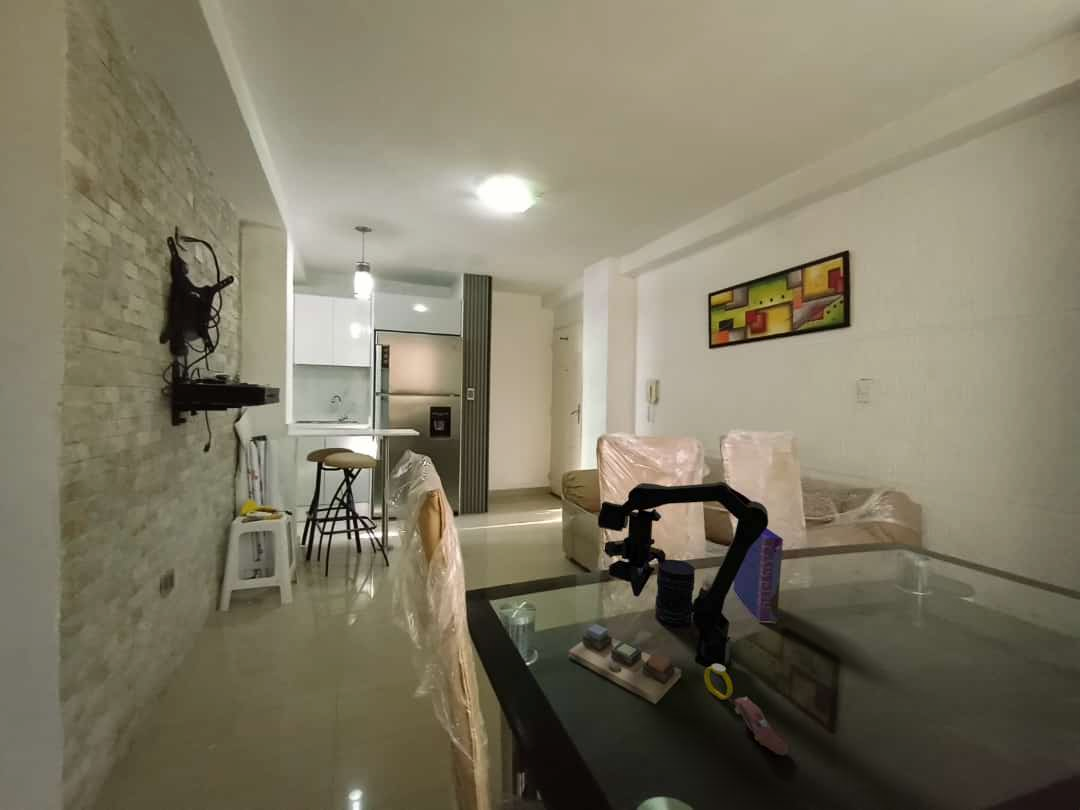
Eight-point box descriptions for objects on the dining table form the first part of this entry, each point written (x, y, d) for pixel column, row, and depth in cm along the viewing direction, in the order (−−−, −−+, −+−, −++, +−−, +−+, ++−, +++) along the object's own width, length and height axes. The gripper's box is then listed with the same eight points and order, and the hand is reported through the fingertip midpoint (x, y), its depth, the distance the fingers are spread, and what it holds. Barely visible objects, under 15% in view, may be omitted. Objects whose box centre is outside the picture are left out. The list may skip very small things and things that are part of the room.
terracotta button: (669, 667, 98) (670, 658, 98) (662, 674, 96) (663, 665, 96) (655, 660, 101) (655, 651, 100) (648, 667, 98) (648, 658, 98)
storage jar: (696, 617, 126) (699, 565, 125) (686, 633, 118) (690, 577, 117) (660, 607, 131) (663, 556, 130) (649, 621, 123) (652, 567, 122)
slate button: (607, 637, 109) (607, 629, 109) (599, 643, 106) (599, 634, 106) (595, 631, 111) (595, 623, 111) (587, 637, 109) (587, 629, 108)
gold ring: (701, 689, 96) (701, 661, 96) (710, 685, 98) (710, 658, 98) (726, 705, 91) (726, 676, 91) (734, 701, 93) (734, 671, 93)
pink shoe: (739, 724, 89) (726, 693, 88) (760, 713, 89) (747, 683, 88) (769, 767, 79) (754, 733, 78) (792, 755, 79) (778, 721, 79)
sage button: (636, 657, 104) (637, 649, 104) (629, 664, 101) (629, 655, 101) (623, 651, 106) (624, 643, 106) (615, 657, 103) (616, 649, 103)
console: (680, 676, 100) (681, 661, 100) (655, 704, 91) (656, 687, 91) (597, 636, 114) (598, 623, 114) (568, 656, 105) (569, 642, 105)
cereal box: (776, 623, 125) (783, 538, 123) (759, 623, 125) (765, 537, 123) (748, 594, 142) (753, 518, 141) (733, 593, 142) (738, 518, 141)
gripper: (630, 519, 125) (627, 574, 126) (591, 535, 111) (588, 597, 112) (668, 529, 118) (664, 588, 119) (631, 547, 104) (628, 613, 105)
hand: (636, 595), depth 114 cm, fingers closed
